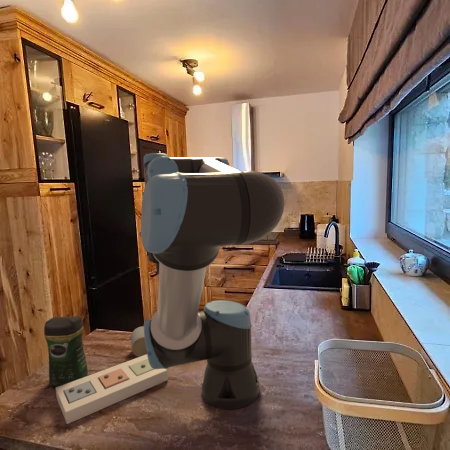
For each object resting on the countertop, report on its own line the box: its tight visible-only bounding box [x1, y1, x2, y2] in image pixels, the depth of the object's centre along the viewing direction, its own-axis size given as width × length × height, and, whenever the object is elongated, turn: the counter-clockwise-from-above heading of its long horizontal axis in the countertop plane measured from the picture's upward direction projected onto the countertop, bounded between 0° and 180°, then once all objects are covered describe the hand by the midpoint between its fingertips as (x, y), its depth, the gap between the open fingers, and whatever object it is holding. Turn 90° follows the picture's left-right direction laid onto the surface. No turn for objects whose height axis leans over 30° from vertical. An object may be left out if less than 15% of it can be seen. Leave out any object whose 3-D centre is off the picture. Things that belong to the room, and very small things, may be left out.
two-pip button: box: [99, 369, 128, 389], centre depth 86 cm, size 6×6×3 cm
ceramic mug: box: [130, 325, 147, 358], centre depth 105 cm, size 11×8×8 cm
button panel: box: [55, 354, 169, 425], centre depth 86 cm, size 12×26×3 cm, turn 128°
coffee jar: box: [43, 315, 89, 387], centre depth 91 cm, size 10×8×19 cm
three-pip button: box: [64, 381, 96, 404], centre depth 81 cm, size 6×6×3 cm
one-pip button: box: [129, 359, 154, 376], centre depth 91 cm, size 6×6×3 cm
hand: (164, 283), depth 98 cm, fingers closed
